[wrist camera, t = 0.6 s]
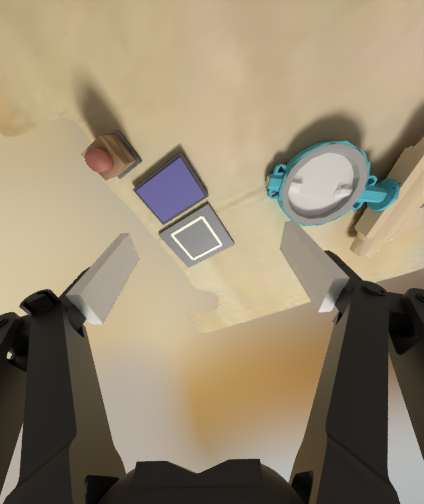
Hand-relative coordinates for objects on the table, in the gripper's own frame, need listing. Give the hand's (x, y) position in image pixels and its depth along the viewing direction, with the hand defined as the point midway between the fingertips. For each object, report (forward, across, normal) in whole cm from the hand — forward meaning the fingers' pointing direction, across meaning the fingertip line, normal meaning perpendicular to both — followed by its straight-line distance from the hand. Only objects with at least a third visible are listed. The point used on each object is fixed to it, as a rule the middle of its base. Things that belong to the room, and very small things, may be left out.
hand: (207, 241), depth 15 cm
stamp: (+23, -16, +6) cm, 29 cm away
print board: (+23, -4, -13) cm, 27 cm away
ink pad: (+23, -8, -2) cm, 24 cm away
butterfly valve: (+23, +26, -3) cm, 35 cm away
